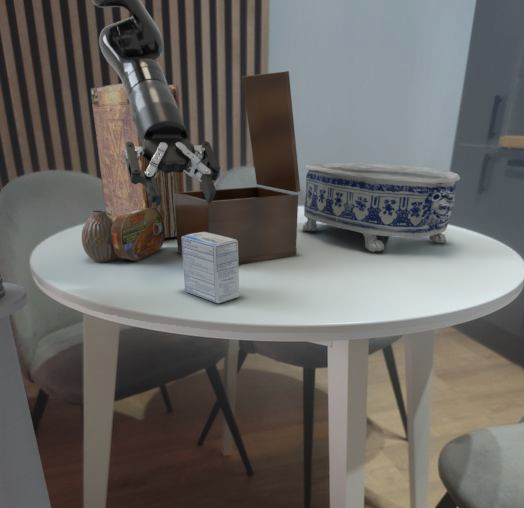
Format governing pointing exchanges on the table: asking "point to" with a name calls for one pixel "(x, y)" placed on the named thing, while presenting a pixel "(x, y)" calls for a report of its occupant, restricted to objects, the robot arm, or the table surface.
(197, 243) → the medicine box
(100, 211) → the vase
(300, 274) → the table surface
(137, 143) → the book
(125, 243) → the tin
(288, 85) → the lid
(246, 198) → the chest
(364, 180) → the decorative bowl
